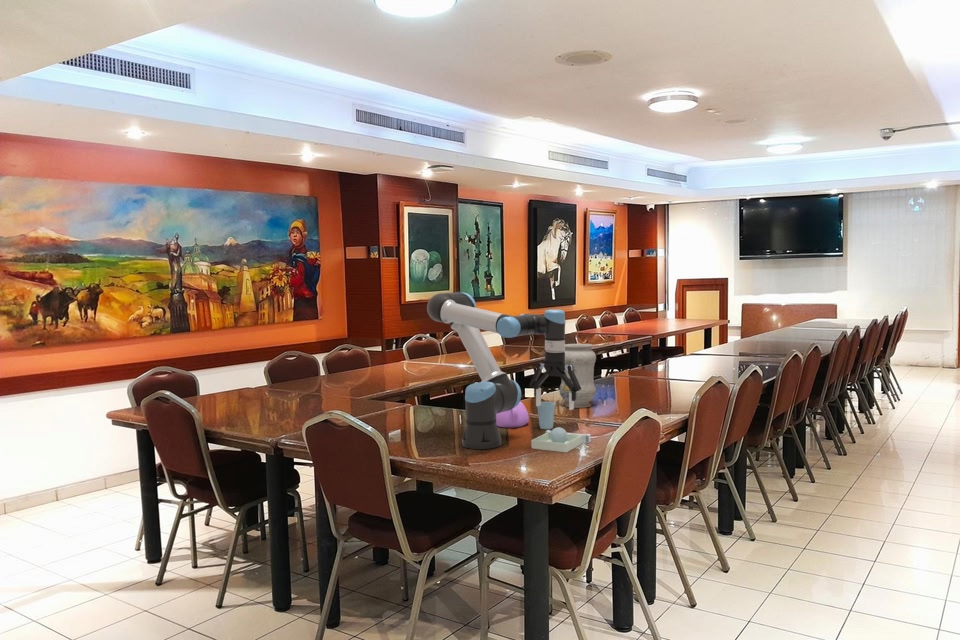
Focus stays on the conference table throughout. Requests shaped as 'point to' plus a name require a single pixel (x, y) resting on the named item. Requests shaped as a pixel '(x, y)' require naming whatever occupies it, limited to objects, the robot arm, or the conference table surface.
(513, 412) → the teapot
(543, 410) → the cup
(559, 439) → the ball
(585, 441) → the white bar handle
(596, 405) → the conference table surface
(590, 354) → the vase
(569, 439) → the tray
